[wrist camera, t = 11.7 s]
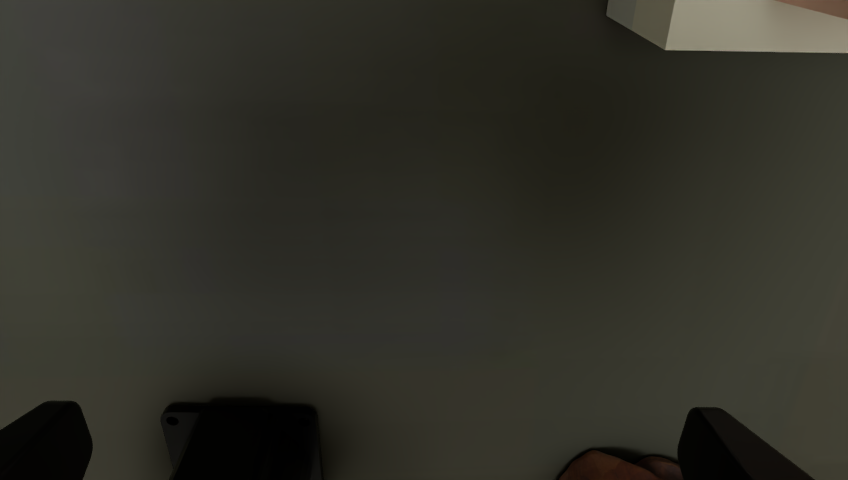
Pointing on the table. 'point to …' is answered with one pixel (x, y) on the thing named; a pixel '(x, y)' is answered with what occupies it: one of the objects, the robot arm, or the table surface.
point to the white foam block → (731, 25)
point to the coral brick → (823, 6)
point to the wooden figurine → (621, 468)
